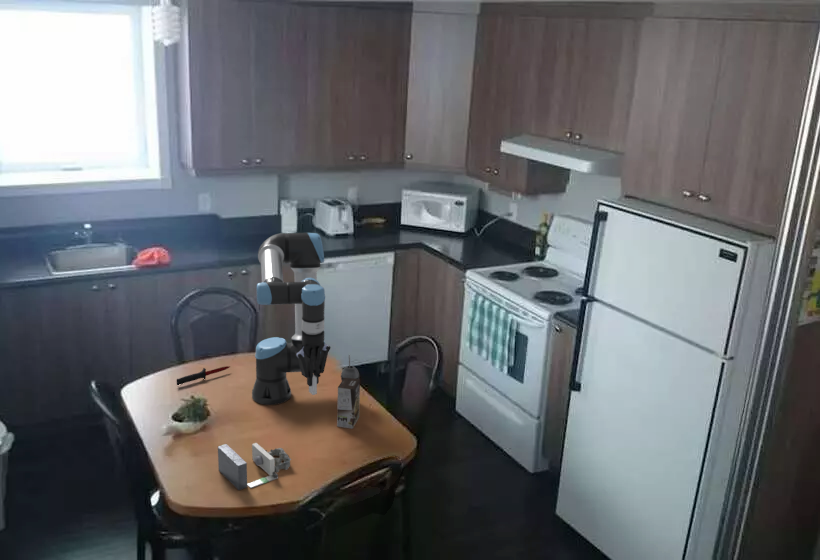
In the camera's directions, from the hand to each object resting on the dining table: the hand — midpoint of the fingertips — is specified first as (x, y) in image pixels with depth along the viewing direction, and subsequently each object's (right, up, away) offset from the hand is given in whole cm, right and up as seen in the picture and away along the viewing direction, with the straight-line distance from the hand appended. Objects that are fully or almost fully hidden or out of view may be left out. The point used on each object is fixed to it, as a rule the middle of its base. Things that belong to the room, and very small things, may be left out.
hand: (312, 392), depth 272 cm
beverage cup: (+10, -9, +36) cm, 39 cm away
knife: (-50, -2, +50) cm, 71 cm away
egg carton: (-12, -23, -6) cm, 27 cm away
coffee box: (+10, -14, +22) cm, 29 cm away
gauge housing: (-19, -25, -12) cm, 34 cm away
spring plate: (-15, -24, -10) cm, 30 cm away
